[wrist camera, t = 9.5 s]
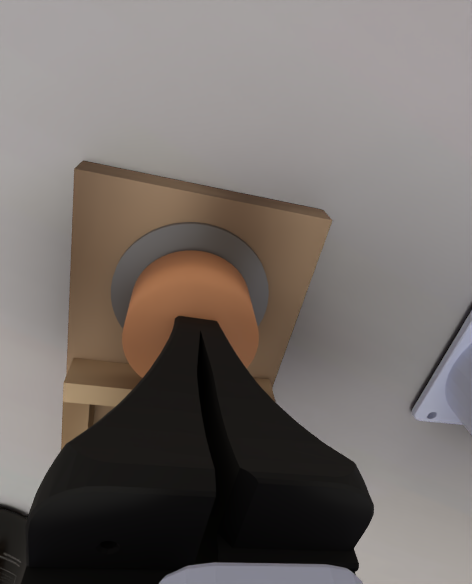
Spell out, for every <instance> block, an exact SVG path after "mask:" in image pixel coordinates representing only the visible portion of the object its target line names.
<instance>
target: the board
mask: <svg viewBox="0 0 472 584" xmlns="http://www.w3.org/2000/svg"><path fill="white" fill-rule="evenodd" d="M331 223H332V219H331V218H330V217H329V216H328V215H327V214H326V213H325V212H324V211H323V210H321V209H316V208H311V207H306V206H301V205H296V204H292V203H287V202H282V201H277V200H272V199H267V198H262V197H257V196H252V195H248V194H243V193H238V192H233V191H228V190H223V189H218V188H213V187H209V186H204V185H199V184H194V183H189V182H184V181H179V180H174V179H170V178H165V177H160V176H155V175H150V174H145V173H140V172H135V171H130V170H126V169H121V168H116V167H111V166H106V165H101V164H96V163H91V162H87V161H82V162H81V163H80V164H79V165H78V166H77V167H76V168H75V169H74V193H73V219H72V245H71V271H70V297H69V323H68V349H67V375H66V378H65V381H64V387H63V416H62V445H61V450H62V449H63V447H64V446H65V444H66V443H68V442H69V441H71V440H72V439H74V438H75V437H77V436H78V435H80V434H81V433H83V432H84V431H85V430H87V429H88V428H90V427H91V426H92V425H94V424H95V423H96V422H98V421H99V420H100V419H101V418H102V417H104V416H105V415H106V414H107V413H108V412H110V411H111V410H112V409H113V408H114V407H115V406H117V405H118V404H119V403H120V402H121V401H122V400H123V399H124V398H125V397H126V396H127V395H128V394H129V393H130V392H131V391H132V390H133V388H134V387H135V386H136V385H137V384H138V383H139V382H140V381H141V379H142V377H140V376H139V375H138V374H137V373H136V372H135V371H134V370H133V368H132V367H131V366H130V364H129V363H128V361H127V359H126V357H125V354H124V351H123V345H122V333H123V328H124V323H125V319H126V315H127V311H128V307H129V303H130V300H131V296H132V292H133V288H134V285H135V283H136V281H137V279H138V277H139V276H140V274H141V273H142V272H143V270H144V269H145V268H146V267H147V266H148V265H150V264H151V263H152V262H154V261H155V260H157V259H159V258H161V257H162V256H165V255H167V254H170V253H174V252H178V251H186V250H196V251H203V252H208V253H211V254H214V255H217V256H219V257H221V258H223V259H225V260H226V261H228V262H229V263H231V264H232V265H233V266H234V267H235V268H236V269H237V270H238V271H239V272H240V274H241V275H242V277H243V278H244V280H245V282H246V285H247V287H248V291H249V295H250V299H251V303H252V307H253V310H254V314H255V318H256V322H257V326H258V330H259V344H258V348H257V352H256V354H255V357H254V359H253V360H252V362H251V364H250V365H249V366H248V368H247V370H248V371H249V373H250V374H251V375H252V377H253V378H254V379H255V381H256V382H257V383H258V384H259V385H260V386H261V388H262V389H263V390H264V391H265V392H266V393H267V394H268V395H269V396H270V397H271V398H272V399H273V401H274V402H275V399H274V395H273V391H272V387H273V384H274V381H275V378H276V375H277V373H278V370H279V367H280V364H281V362H282V359H283V356H284V353H285V350H286V348H287V345H288V342H289V339H290V337H291V334H292V331H293V328H294V326H295V323H296V320H297V317H298V314H299V312H300V309H301V306H302V303H303V301H304V298H305V295H306V292H307V289H308V287H309V284H310V281H311V278H312V276H313V273H314V270H315V267H316V264H317V262H318V259H319V256H320V253H321V251H322V248H323V245H324V242H325V239H326V237H327V234H328V231H329V228H330V226H331Z"/></svg>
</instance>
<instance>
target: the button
mask: <svg viewBox="0 0 472 584" xmlns="http://www.w3.org/2000/svg"><path fill="white" fill-rule="evenodd" d="M178 316H185V317H193V318H200V319H207V320H214V321H217V322H218V323H219V325H220V327H221V329H222V330H223V332H224V334H225V336H226V338H227V339H228V341H229V343H230V344H231V346H232V348H233V349H234V351H235V352H236V354H237V355H238V357H239V358H240V360H241V361H242V363H243V364H244V366H245V367H246V369H247V368H248V366H249V365H250V364H251V362H252V360H253V359H254V357H255V354H256V352H257V348H258V344H259V330H258V326H257V322H256V318H255V314H254V310H253V307H252V303H251V299H250V295H249V291H248V287H247V285H246V282H245V280H244V278H243V277H242V275H241V274H240V272H239V271H238V270H237V269H236V268H235V267H234V266H233V265H232V264H231V263H229V262H228V261H226V260H225V259H223V258H221V257H219V256H217V255H214V254H211V253H208V252H203V251H196V250H186V251H178V252H174V253H170V254H167V255H165V256H162V257H161V258H159V259H157V260H155V261H154V262H152V263H151V264H150V265H148V266H147V267H146V268H145V269H144V270H143V272H142V273H141V274H140V276H139V277H138V279H137V281H136V283H135V285H134V288H133V292H132V296H131V300H130V303H129V307H128V311H127V315H126V319H125V323H124V328H123V333H122V345H123V351H124V354H125V357H126V359H127V361H128V363H129V364H130V366H131V367H132V368H133V370H134V371H135V372H136V373H137V374H138V375H139V376H140V377H142V378H143V377H144V376H145V374H146V373H147V372H148V371H149V369H150V368H151V366H152V365H153V364H154V362H155V361H156V359H157V358H158V356H159V355H160V353H161V351H162V350H163V348H164V346H165V344H166V342H167V341H168V339H169V337H170V334H171V332H172V330H173V326H174V321H175V318H176V317H178Z"/></svg>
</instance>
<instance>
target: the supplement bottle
mask: <svg viewBox="0 0 472 584" xmlns="http://www.w3.org/2000/svg"><path fill="white" fill-rule="evenodd" d="M26 523H27V518H25V517H23V516H22V515H19V514H17V513H15V512H12V511H9V510H6V509H2V508H0V584H21V581H22V578H23V575H24V572H25V569H26V566H27V563H26V532H25V528H26Z"/></svg>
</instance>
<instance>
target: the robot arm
mask: <svg viewBox="0 0 472 584" xmlns="http://www.w3.org/2000/svg"><path fill="white" fill-rule="evenodd" d="M412 415H413V416H414V418H415V419H416V420H419V421H428V422H438V423H449V424H459V425H464V426H465V428H466V429H467V430H468V432H469V433H470V434H471V435H472V311H471V312H470V314H469V316H468V317H467V319H466V321H465V322H464V324H463V326H462V327H461V329H460V331H459V332H458V334H457V336H456V337H455V339H454V341H453V342H452V344H451V346H450V347H449V349H448V351H447V352H446V354H445V356H444V357H443V359H442V361H441V362H440V364H439V366H438V367H437V369H436V371H435V372H434V374H433V376H432V377H431V379H430V381H429V382H428V384H427V386H426V387H425V389H424V391H423V392H422V394H421V396H420V397H419V399H418V401H417V402H416V404H415V406H414V407H413V409H412ZM373 514H374V505H373V502H372V500H371V497H370V495H369V493H368V490H367V487H366V485H365V482H364V480H363V478H362V476H361V474H360V472H359V470H358V468H357V466H356V464H355V463H354V462H353V461H351V460H350V459H348V458H347V457H345V456H343V455H342V454H340V453H339V452H337V451H336V450H334V449H332V448H331V447H329V446H328V445H326V444H325V443H323V442H322V441H321V440H319V439H318V438H317V437H315V436H314V435H313V434H311V433H310V432H309V431H307V430H306V429H305V428H304V427H302V426H301V425H300V424H299V423H297V422H296V421H295V420H294V419H293V418H292V417H291V416H289V415H288V414H287V413H286V412H285V411H284V410H283V409H282V408H281V407H280V406H279V405H278V404H276V403H275V402H274V401H273V399H272V398H271V397H270V396H269V395H268V394H267V393H266V392H265V391H264V390H263V389H262V388H261V386H260V385H259V384H258V383H257V382H256V381H255V379H254V378H253V377H252V375H251V374H250V373H249V371H248V370H247V369H246V367H245V366H244V364H243V363H242V361H241V360H240V358H239V357H238V355H237V354H236V352H235V351H234V349H233V348H232V346H231V344H230V343H229V341H228V339H227V338H226V336H225V334H224V332H223V330H222V329H221V327H220V325H219V323H218V322H217V321H214V320H207V319H200V318H193V317H185V316H178V317H176V318H175V321H174V326H173V330H172V332H171V334H170V337H169V339H168V341H167V342H166V344H165V346H164V348H163V350H162V351H161V353H160V355H159V356H158V358H157V359H156V361H155V362H154V364H153V365H152V366H151V368H150V369H149V371H148V372H147V373H146V374H145V376H144V377H143V378H142V379H141V381H140V382H139V383H138V384H137V385H136V386H135V387H134V388H133V390H132V391H131V392H130V393H129V394H128V395H127V396H126V397H125V398H124V399H123V400H122V401H121V402H120V403H119V404H118V405H117V406H115V407H114V408H113V409H112V410H111V411H110V412H108V413H107V414H106V415H105V416H104V417H102V418H101V419H100V420H99V421H98V422H96V423H95V424H94V425H92V426H91V427H90V428H88V429H87V430H85V431H84V432H83V433H81V434H80V435H78V436H77V437H75V438H74V439H72V440H71V441H69V442H68V443H66V444H65V446H64V447H63V449H62V450H61V452H60V453H59V455H58V456H57V457H56V459H55V460H54V462H53V464H52V465H51V467H50V468H49V470H48V472H47V473H46V475H45V477H44V479H43V481H42V483H41V485H40V487H39V489H38V491H37V493H36V495H35V498H34V501H33V504H32V506H31V509H30V512H29V515H28V518H27V523H26V528H25V532H26V563H27V566H26V569H25V572H24V575H23V578H22V581H21V584H363V583H362V581H361V580H360V579H359V578H358V577H357V576H356V574H355V571H357V570H358V568H359V563H358V560H357V557H356V554H355V551H354V547H355V546H356V544H357V542H358V541H359V539H360V538H361V536H362V535H363V533H364V532H365V530H366V529H367V527H368V525H369V523H370V521H371V519H372V517H373Z"/></svg>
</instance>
